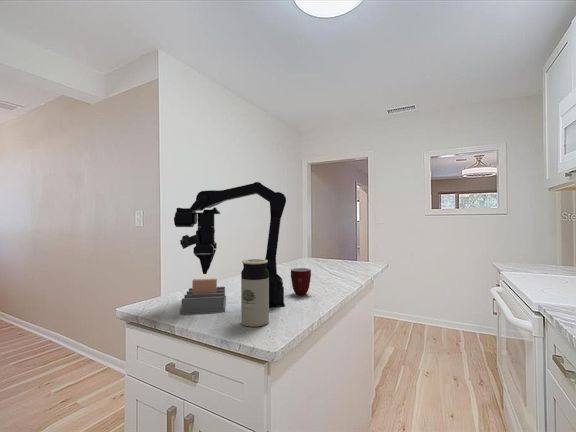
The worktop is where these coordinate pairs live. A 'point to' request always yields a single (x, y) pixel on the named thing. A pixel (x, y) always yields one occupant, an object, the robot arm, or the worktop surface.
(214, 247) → the robot arm
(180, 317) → the worktop surface
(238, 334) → the worktop surface
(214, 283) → the tile
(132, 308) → the worktop surface
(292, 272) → the mug
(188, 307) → the coaster holder
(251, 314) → the travel mug
